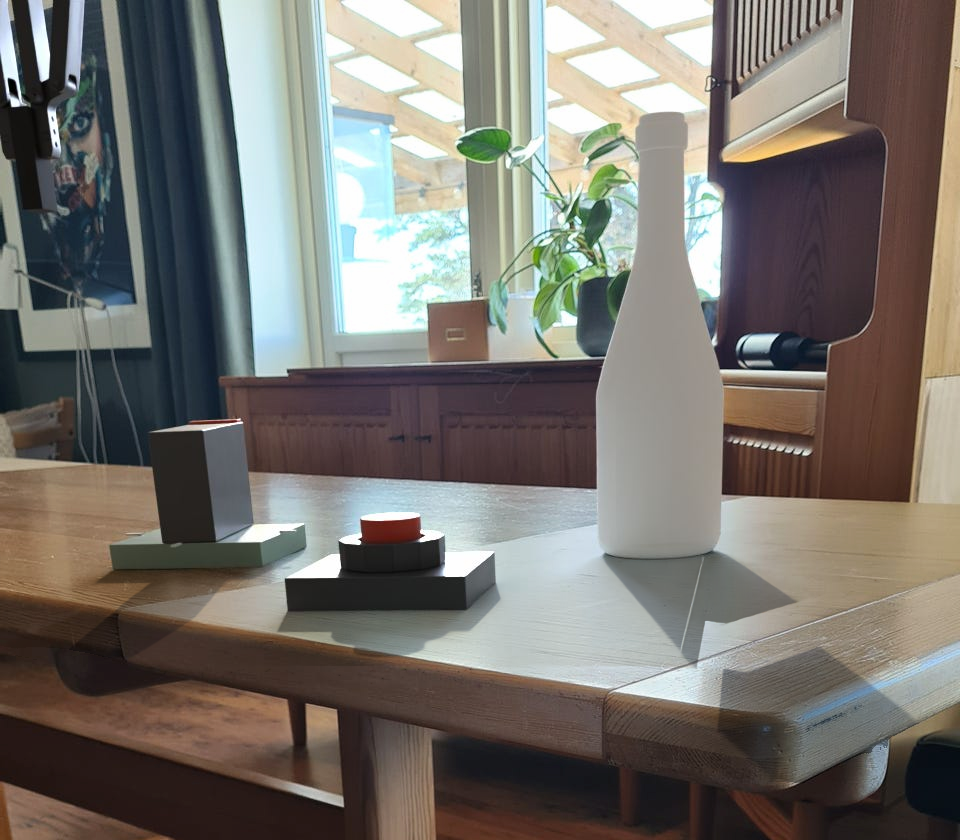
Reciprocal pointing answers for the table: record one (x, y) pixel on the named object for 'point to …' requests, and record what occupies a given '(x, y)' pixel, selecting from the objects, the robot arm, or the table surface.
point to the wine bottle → (660, 380)
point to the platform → (210, 549)
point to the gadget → (201, 480)
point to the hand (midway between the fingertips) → (40, 210)
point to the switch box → (392, 577)
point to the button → (390, 527)
